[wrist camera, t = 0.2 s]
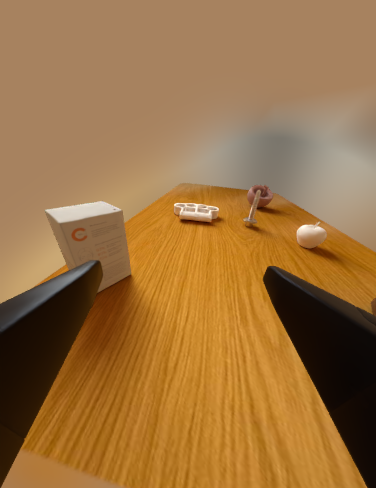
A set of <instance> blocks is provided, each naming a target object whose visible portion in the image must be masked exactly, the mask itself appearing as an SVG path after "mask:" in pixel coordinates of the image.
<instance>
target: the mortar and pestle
mask: <svg viewBox="0 0 376 488" xmlns="http://www.w3.org/2000/svg"><path fill="white" fill-rule="evenodd" d="M258 190H260V191H261V194H260V197H259V198H260V199H259V201H258V204H257V205H258V206H257V207H264V206H266V205H268V204H269V203H270V202H271V200H272V198H273V194H272V192H271V191H270V189H268V187H267V186H266V185H264V186H261V185H255V186H253V187H252V188H251V189H250V190H249V192H248V201H249V203H250V204H251V205H253V202H254V198H255V196H256V193H257V191H258Z"/></svg>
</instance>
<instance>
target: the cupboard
mask: <svg viewBox="0 0 376 488" xmlns="http://www.w3.org/2000/svg"><path fill="white" fill-rule="evenodd" d="M371 306H372V312H373V315H374V316H376V298H375V299H374V300H373V301H372V302H371Z"/></svg>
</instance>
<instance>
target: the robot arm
mask: <svg viewBox="0 0 376 488" xmlns="http://www.w3.org/2000/svg"><path fill="white" fill-rule="evenodd" d="M102 279H103V270H102V265H101V262H100V261H99V260H90V261H88V262H86V263H83V264H81V265H79V266H77V267H75V268H73V269H71V270H69V271H67V272H65V273H63V274H61V275H59V276H57V277H55V278H52V279H50V280H48V281H46V282H44V283H42V284H40V285H38V286H36V287H34V288H32V289H30V290H28V291H26V292H24V293H22V294H20V295H18V296H15V297H13V298H11V299H9V300H7V301H5V302H3V303H1V304H0V488H1V486H2V484H3V482H4V480H5V478H6V476H7V474H8V472H9V470H10V468H11V466H12V464H13V462H14V460H15V458H16V456H17V454H18V452H19V450H20V448H21V447H22V445H23V443H24V440H25V438H26V436H27V434H28V432H29V430H30V428H31V426H32V424H33V422H34V420H35V418H36V416H37V414H38V412H39V410H40V408H41V407H42V405H43V403H44V401H45V399H46V397H47V395H48V393H49V391H50V389H51V387H52V385H53V383H54V381H55V379H56V377H57V375H58V373H59V371H60V369H61V367H62V365H63V363H64V361H65V359H66V357H67V355H68V353H69V351H70V349H71V347H72V345H73V343H74V341H75V339H76V337H77V335H78V333H79V331H80V329H81V327H82V325H83V323H84V321H85V319H86V317H87V315H88V313H89V311H90V309H91V307H92V305H93V303H94V300H95V297H96V295H97V292H98V289H99V287H100V284H101V281H102ZM263 282H264V284H265V287H266V289H267V292H268V294H269V297H270V299H271V302H272V304H273V306H274V308H275V310H276V312H277V314H278V316H279V318H280V320H281V322H282V324H283V326H284V328H285V330H286V332H287V333H288V335H289V337H290V339H291V341H292V343H293V345H294V347H295V349H296V351H297V353H298V355H299V357H300V358H301V360H302V362H303V364H304V366H305V368H306V370H307V372H308V374H309V376H310V378H311V380H312V382H313V383H314V385H315V387H316V389H317V391H318V393H319V395H320V397H321V399H322V401H323V403H324V405H325V407H326V408H327V410H328V412H329V415H330V416H331V418H332V420H333V422H334V424H335V426H336V428H337V430H338V432H339V434H340V436H341V438H342V440H343V441H344V443H345V445H346V447H347V449H348V451H349V453H350V455H351V457H352V459H353V461H354V463H355V465H356V467H357V468H358V470H359V472H360V474H361V476H362V478H363V480H364V482H365V484H366V486H367V488H376V316H374V315H372V314H370V313H368V312H366V311H364V310H362V309H360V308H358V307H355V306H354V305H352V304H350V303H348V302H346V301H344V300H342V299H340V298H338V297H336V296H334V295H332V294H330V293H328V292H326V291H324V290H322V289H320V288H318V287H316V286H314V285H312V284H310V283H308V282H306V281H304V280H302V279H300V278H299V277H297V276H295V275H293V274H291V273H289V272H287V271H285V270H283V269H281V268H279V267H276V266H269V267H267V269H266V272H265V274H264V277H263Z"/></svg>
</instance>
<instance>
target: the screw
mask: <svg viewBox="0 0 376 488" xmlns="http://www.w3.org/2000/svg"><path fill="white" fill-rule="evenodd" d="M260 194H261V191H260V190H258V191H257V193H256V196H255V198H254V202H253V205H252V208H251V212H250V215H249V218H244V219H243V221H245V222H246V223H245V226H248V227H252V226H253V224H256V223H257V221H256V220H255V219H254V218H253V217H254V214H255V211H256V209H257V206H258V205H257V204H258V201H259V199H260V198H259V197H260Z"/></svg>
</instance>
